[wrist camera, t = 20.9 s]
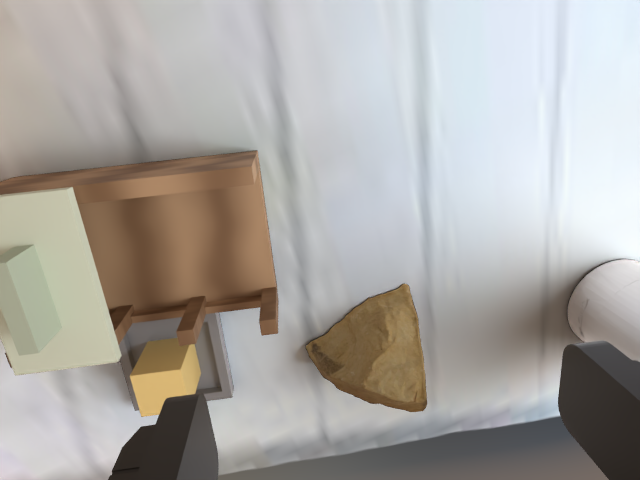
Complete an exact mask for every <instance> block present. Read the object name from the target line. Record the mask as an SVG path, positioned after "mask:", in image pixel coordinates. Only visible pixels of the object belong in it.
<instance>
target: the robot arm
mask: <svg viewBox="0 0 640 480" xmlns="http://www.w3.org/2000/svg"><path fill="white" fill-rule="evenodd" d="M568 321H569V325H570V327H571V329H572V330H573V332H574V333H575V334H576V335H577V336H578V337H579V338H580V339H581V340H582V341H584V342H585V343H578V344H571V345H568V346H566V347H565V349H564V352H563V359H562V368H561V378H560V388H559V397H558V407H559V412H560V415H561V418H562V421H563V423H564V425H565V426H566V428H567V430H568V431H569V432H570V434H571V435H572V436H573V437H574V438H575V440H576V441H577V442H578V443H579V444H580V446H581V447H582V448H583V449H584V450H585V452H586V453H587V454H588V455H589V456H590V457H591V459H592V460H593V461H594V462H595V463H596V465H597V466H598V467H599V468H600V469H601V471H602V472H603V473H604V474H605V475H606V477H607V478H608V479H609V480H640V262H638V261H635V260H628V259H622V260H614V261H611V262H608V263H605V264H603V265H601V266H599V267H597V268H595V269H594V270H593V271H591V272H590V273H589V274H587V275H586V276H585V277H584V278H583V279H582V280H581V281H580V282H579V284H578V285H577V287H576V288H575V290H574V291H573V293H572V296H571V298H570V300H569V305H568ZM108 480H218V452H217V446H216V442H215V438H214V433H213V429H212V424H211V420H210V415H209V411H208V406H207V402H206V398H205V396H204V394H203V393H198V394H191V395H183V396H176V397H169V398H166V400H165V401H164V404H163V406H162V409H161V412H160V414H159V417H158V420H157V422H156V425H150V426H142V427H140V429H139V430H138V431H137V432H136V433H135V434H134V435H133V436H132V437H131V439H130V440H129V441H128V442H127V443H126V444H125V445H124V446H123V447H122V450H121V452H120V454H119V456H118V459H117V461H116V463H115V465H114V468H113V470H112V475H110V477H109V479H108Z"/></svg>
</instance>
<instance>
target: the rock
mask: <svg viewBox="0 0 640 480" xmlns="http://www.w3.org/2000/svg"><path fill="white" fill-rule="evenodd" d="M306 349H307V351H308V354H309V357H310V358H311V359H312V361H313V363H314V364H315V366H316V367H317V369H318V370H319V372H320V373H321V375H322V376H323V377H324V378H325V379H327V380H329V381H330V382H332V383H333V384H334V385H335V386H336V388H337V389H339V390H341V391H343V392H347V393H349V394H352V395H354V396H355V397H357V398H360V399H362V400H364V401H367V402H368V403H372V404H383V405H385V406H388V407H392V408H397V409H402V410H406V411H409V412H418V411H423V410H424V409H425V408H426V405H427V394H426V379H425V370H424V358H423V352H422V348H421V339H420V334H419V324H418V317H417V313H416V310H415V307H414V304H413V300H412V296H411V294H410V288H409V286H408V285H407V284H403V285H401V286H400V287H399V288H398V289H396V290H393V291H390V292H387V293H385V294H380V295H377V296H375V297H373V298H368V299H367V300H366V301H365V302H364V303H362V304H361V305H359V306H357V307H355V308H354V309H353V310H352V311H351V312H350V313H348V314H347V315H346V316H345V318H344V319H343V320H341V321H340V322H339V323H336V324H335V325H334V326H333V327H332V328H331V329H330V330H329V332H328V333H327V334H326V335H324V336H321V337H319V338H317V339H315V340H313V341H311V342H310V343H309V344H308V345H307V346H306Z"/></svg>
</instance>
